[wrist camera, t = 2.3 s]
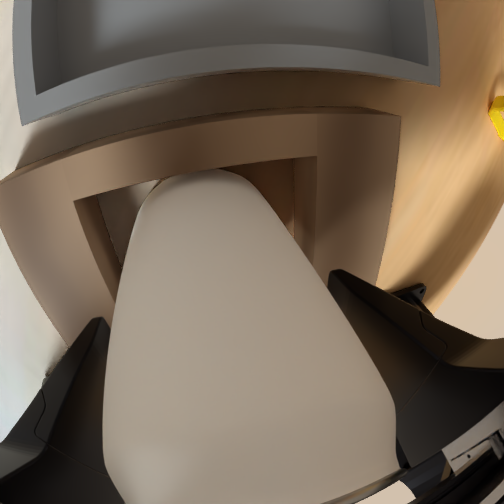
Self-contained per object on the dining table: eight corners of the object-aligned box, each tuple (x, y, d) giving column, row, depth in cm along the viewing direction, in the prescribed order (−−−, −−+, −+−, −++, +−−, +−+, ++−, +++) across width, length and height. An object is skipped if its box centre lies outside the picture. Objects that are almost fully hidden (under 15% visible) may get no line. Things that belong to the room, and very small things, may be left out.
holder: (367, 108, 12) (400, 116, 10) (350, 279, 18) (370, 305, 15) (14, 171, 9) (-14, 191, 7) (88, 332, 15) (82, 364, 13)
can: (290, 188, 13) (478, 423, 3) (241, 293, 16) (315, 511, 6) (154, 147, 11) (85, 540, 1) (125, 271, 13) (114, 532, 4)
